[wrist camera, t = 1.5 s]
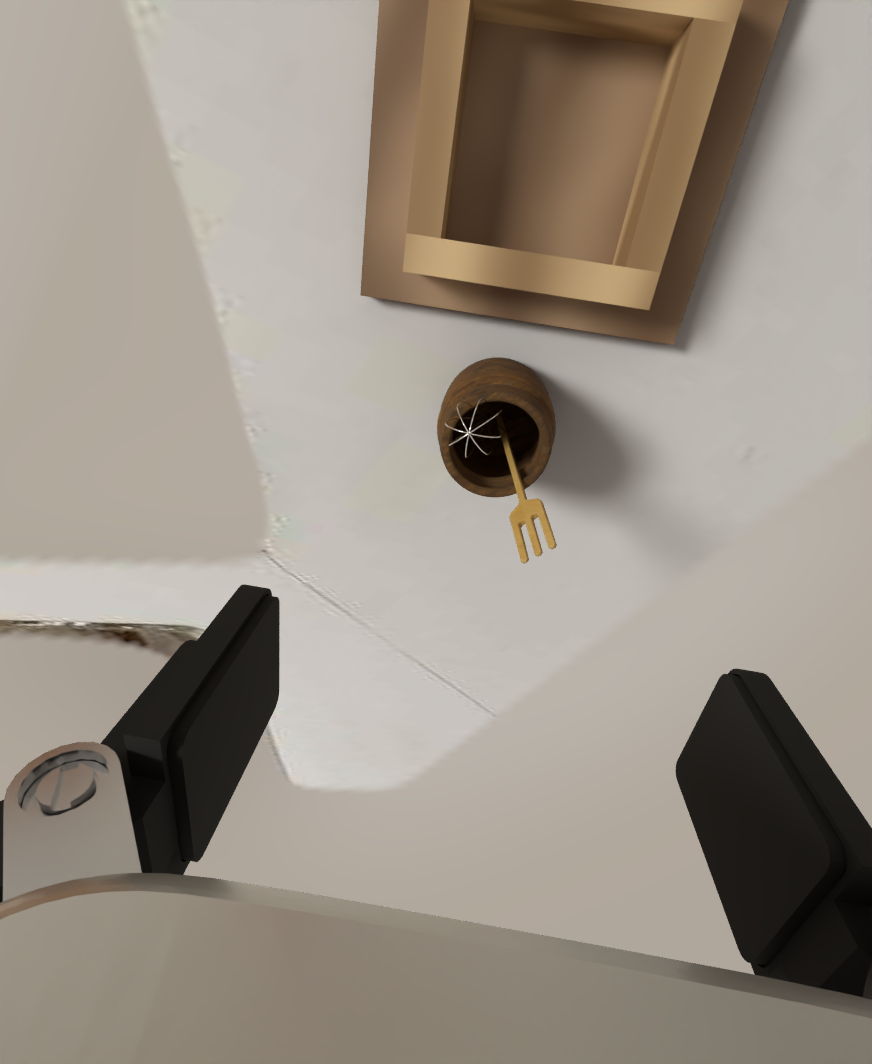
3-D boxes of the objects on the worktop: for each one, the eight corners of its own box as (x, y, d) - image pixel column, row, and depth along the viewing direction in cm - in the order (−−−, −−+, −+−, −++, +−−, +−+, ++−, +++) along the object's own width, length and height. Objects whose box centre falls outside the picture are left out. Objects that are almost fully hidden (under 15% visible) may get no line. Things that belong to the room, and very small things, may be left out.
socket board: (787, -26, 21) (850, -88, 17) (667, 341, 27) (693, 354, 24) (391, -81, 21) (368, -153, 18) (365, 293, 28) (345, 299, 24)
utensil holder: (513, 331, 28) (522, 374, 17) (570, 428, 30) (610, 520, 19) (423, 393, 30) (383, 466, 19) (483, 480, 32) (475, 589, 21)
